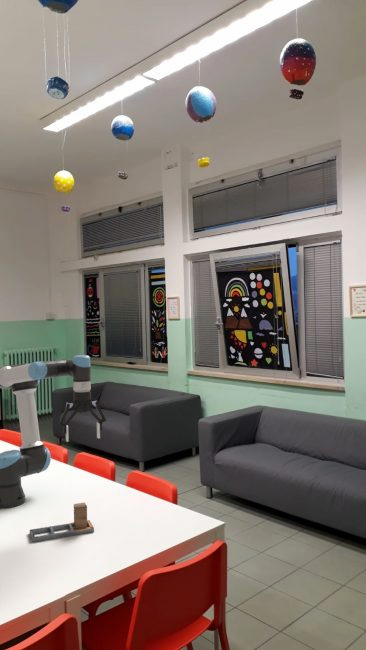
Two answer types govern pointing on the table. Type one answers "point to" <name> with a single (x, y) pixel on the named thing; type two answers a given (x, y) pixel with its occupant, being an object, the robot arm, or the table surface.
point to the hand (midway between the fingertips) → (83, 439)
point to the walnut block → (80, 515)
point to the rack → (61, 534)
